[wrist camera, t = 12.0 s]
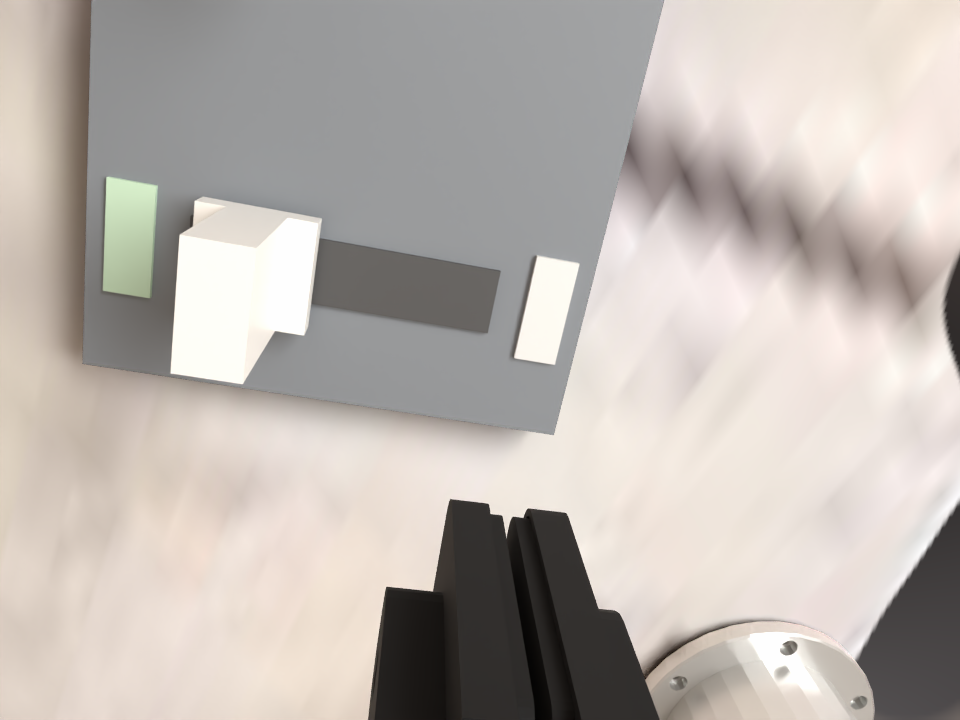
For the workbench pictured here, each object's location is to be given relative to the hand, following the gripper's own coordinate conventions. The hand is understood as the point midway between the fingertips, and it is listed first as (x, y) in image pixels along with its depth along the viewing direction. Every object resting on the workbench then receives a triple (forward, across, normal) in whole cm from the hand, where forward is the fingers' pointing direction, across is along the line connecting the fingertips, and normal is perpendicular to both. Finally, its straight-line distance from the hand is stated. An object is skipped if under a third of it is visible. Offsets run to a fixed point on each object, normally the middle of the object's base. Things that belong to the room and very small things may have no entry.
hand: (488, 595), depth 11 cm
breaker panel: (+20, +4, -7) cm, 21 cm away
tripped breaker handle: (+17, +7, 0) cm, 19 cm away
